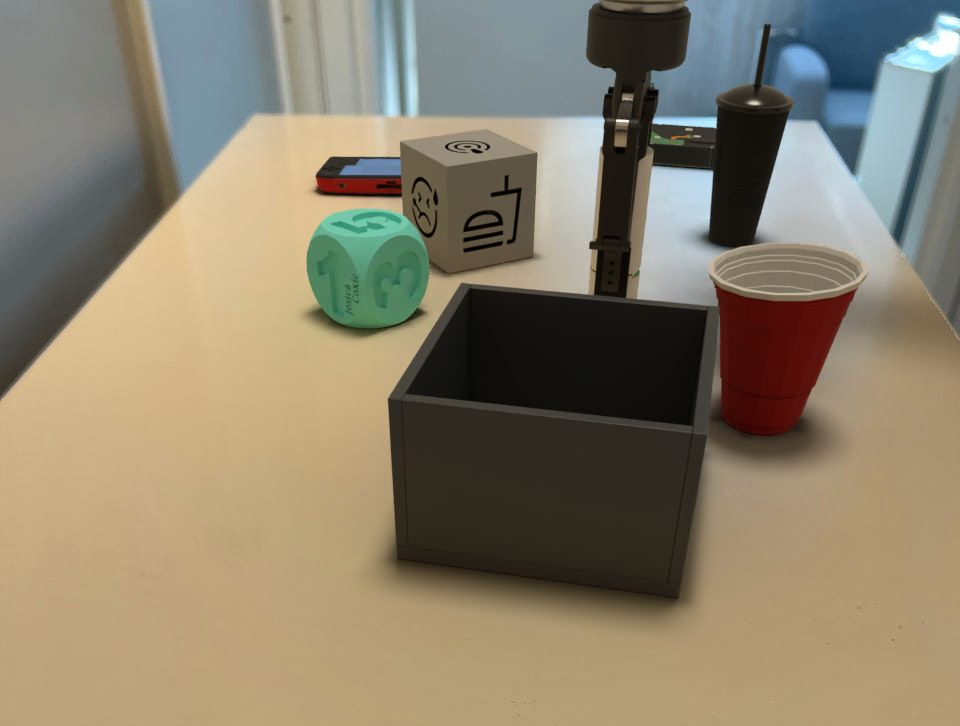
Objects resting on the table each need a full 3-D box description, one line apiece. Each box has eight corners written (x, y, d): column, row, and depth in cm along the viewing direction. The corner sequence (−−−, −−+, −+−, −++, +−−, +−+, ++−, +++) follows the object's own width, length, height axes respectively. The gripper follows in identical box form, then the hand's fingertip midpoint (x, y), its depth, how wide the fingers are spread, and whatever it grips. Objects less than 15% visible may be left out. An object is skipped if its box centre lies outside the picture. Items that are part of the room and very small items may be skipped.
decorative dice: (309, 311, 91) (300, 221, 86) (375, 288, 96) (370, 201, 91) (365, 337, 87) (359, 244, 82) (432, 312, 92) (430, 222, 86)
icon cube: (533, 256, 103) (537, 152, 96) (448, 273, 99) (447, 166, 92) (485, 227, 109) (486, 128, 103) (404, 243, 105) (399, 141, 99)
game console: (442, 167, 127) (441, 148, 125) (434, 198, 117) (434, 178, 116) (330, 164, 127) (328, 146, 126) (313, 195, 118) (311, 175, 116)
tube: (605, 344, 86) (623, 160, 77) (575, 327, 89) (588, 147, 79) (643, 333, 88) (664, 152, 79) (612, 317, 91) (630, 139, 81)
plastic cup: (700, 376, 82) (725, 227, 74) (835, 399, 79) (875, 246, 71) (670, 436, 74) (694, 276, 66) (818, 464, 71) (861, 301, 63)
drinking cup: (752, 256, 103) (794, 35, 90) (684, 242, 106) (715, 26, 93) (777, 235, 108) (819, 22, 95) (711, 223, 111) (743, 14, 98)
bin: (695, 453, 72) (720, 306, 65) (678, 598, 59) (707, 434, 52) (461, 426, 75) (460, 282, 68) (396, 558, 62) (387, 398, 55)
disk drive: (734, 151, 134) (625, 142, 136) (738, 128, 132) (627, 119, 135) (732, 172, 126) (616, 162, 129) (736, 149, 125) (619, 139, 127)
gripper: (604, -17, 79) (582, 274, 95) (572, 20, 67) (553, 349, 82) (698, -13, 78) (661, 281, 94) (684, 25, 65) (643, 358, 81)
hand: (610, 312), depth 88 cm, fingers closed on tube, 4 cm apart
